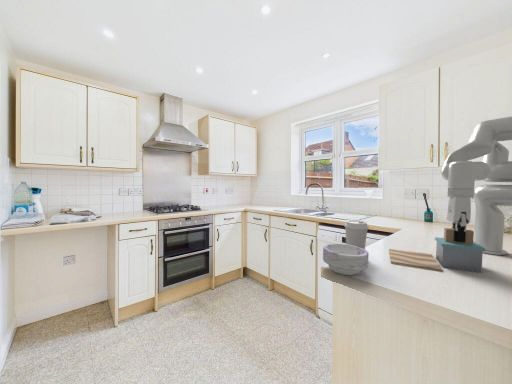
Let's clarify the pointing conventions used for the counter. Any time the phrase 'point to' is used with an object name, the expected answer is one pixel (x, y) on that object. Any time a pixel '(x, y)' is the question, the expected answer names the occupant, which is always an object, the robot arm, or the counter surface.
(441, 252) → the tin
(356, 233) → the coffee cup
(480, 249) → the lid
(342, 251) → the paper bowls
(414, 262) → the wooden board
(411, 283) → the counter surface
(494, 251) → the robot arm
